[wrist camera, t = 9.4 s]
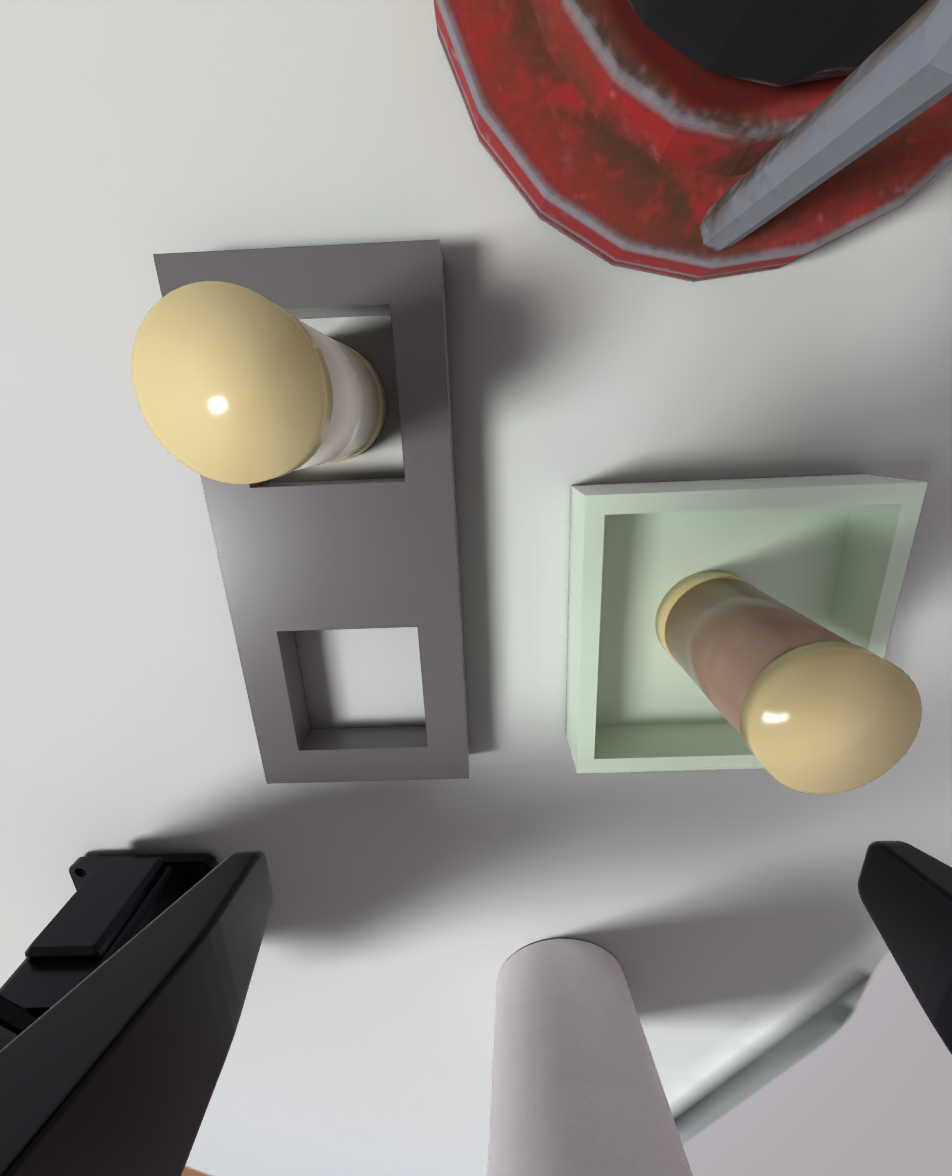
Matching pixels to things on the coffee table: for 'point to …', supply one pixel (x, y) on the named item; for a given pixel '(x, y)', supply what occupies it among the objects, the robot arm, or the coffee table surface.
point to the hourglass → (706, 119)
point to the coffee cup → (575, 1071)
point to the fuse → (250, 386)
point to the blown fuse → (789, 684)
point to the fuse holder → (348, 523)
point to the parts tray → (727, 543)
